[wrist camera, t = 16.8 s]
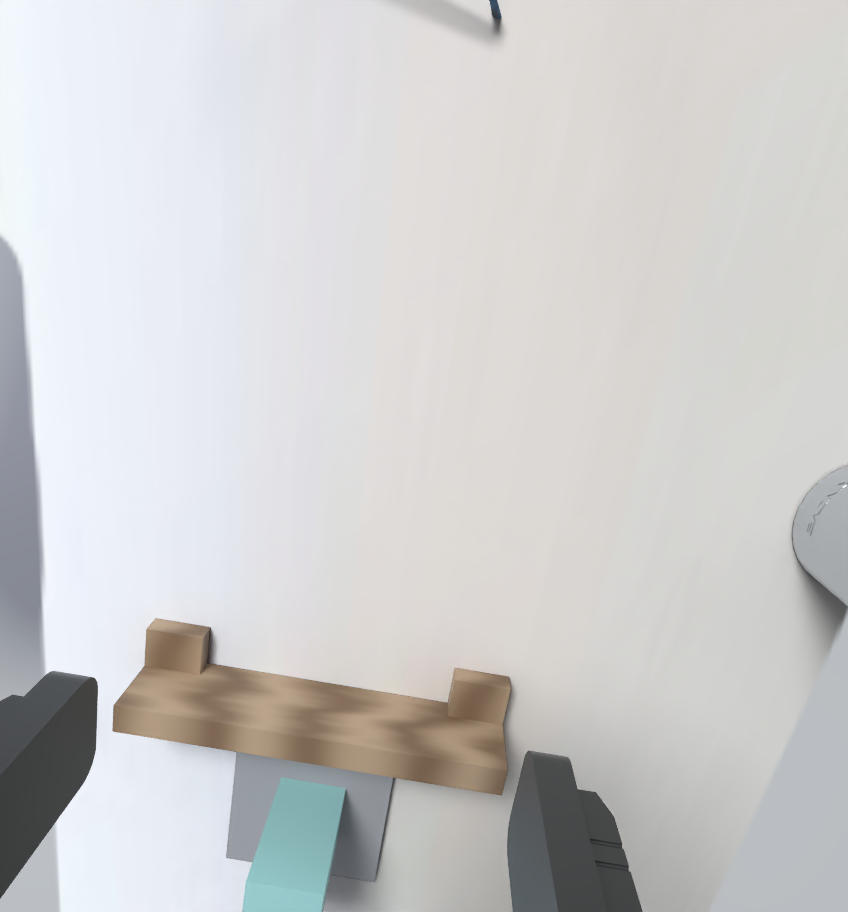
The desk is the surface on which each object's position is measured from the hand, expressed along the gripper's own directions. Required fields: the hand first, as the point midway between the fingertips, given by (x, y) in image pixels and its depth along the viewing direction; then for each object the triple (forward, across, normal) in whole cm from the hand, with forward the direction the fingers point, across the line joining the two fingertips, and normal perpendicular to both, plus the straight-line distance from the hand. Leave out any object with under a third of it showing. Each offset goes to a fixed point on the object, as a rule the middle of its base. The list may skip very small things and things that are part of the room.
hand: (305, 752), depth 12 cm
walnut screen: (+32, +3, +22) cm, 39 cm away
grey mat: (+32, +3, +32) cm, 46 cm away
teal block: (+32, +3, +32) cm, 45 cm away
